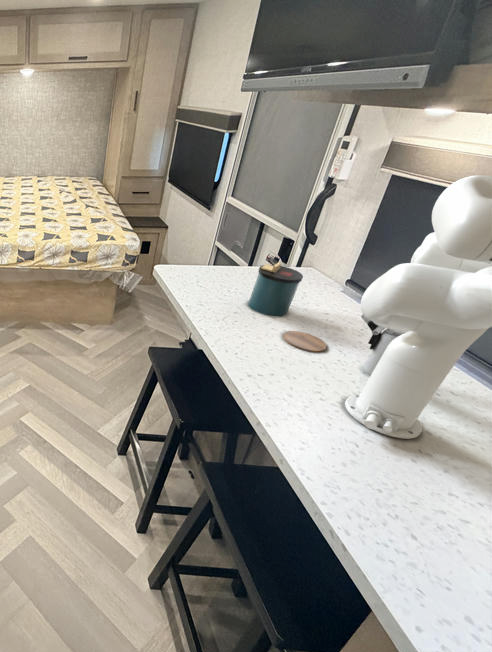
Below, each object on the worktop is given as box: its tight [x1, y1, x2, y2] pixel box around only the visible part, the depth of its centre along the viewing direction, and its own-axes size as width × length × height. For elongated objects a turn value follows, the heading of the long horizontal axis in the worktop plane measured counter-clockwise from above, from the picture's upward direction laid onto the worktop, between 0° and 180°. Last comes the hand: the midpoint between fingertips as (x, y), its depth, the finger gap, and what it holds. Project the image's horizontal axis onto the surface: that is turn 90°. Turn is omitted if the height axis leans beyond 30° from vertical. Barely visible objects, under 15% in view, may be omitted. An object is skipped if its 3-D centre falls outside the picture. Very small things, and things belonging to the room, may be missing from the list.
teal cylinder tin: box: [247, 264, 304, 318], centre depth 128 cm, size 12×12×13 cm
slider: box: [260, 262, 282, 273], centre depth 127 cm, size 4×4×2 cm
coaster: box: [283, 330, 327, 353], centre depth 114 cm, size 10×10×1 cm
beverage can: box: [362, 328, 403, 376], centre depth 99 cm, size 5×5×12 cm
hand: (386, 351), depth 98 cm, fingers closed on beverage can, 4 cm apart
